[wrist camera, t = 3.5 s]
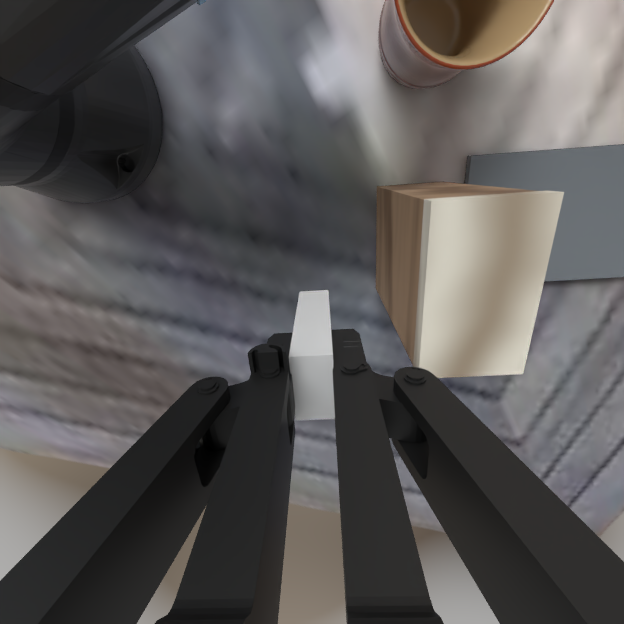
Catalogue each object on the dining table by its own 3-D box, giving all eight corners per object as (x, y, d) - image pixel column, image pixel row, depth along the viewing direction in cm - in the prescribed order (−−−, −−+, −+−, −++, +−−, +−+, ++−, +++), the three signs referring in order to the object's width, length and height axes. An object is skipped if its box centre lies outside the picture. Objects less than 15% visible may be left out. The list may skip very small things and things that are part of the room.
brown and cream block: (375, 288, 34) (418, 378, 19) (376, 185, 30) (431, 201, 15) (434, 285, 34) (523, 374, 19) (443, 181, 30) (564, 191, 15)
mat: (453, 284, 34) (456, 286, 33) (467, 156, 29) (471, 155, 28) (634, 273, 33) (641, 275, 32) (679, 140, 28) (688, 139, 28)
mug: (375, 116, 28) (404, 88, 19) (356, -14, 25) (380, -128, 15) (521, 75, 27) (632, 23, 17) (522, -69, 23) (660, -231, 14)
